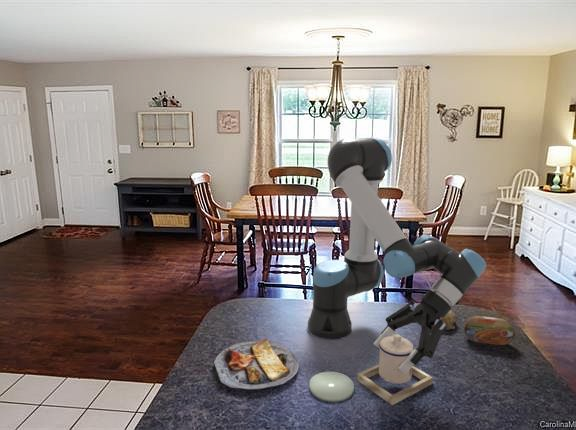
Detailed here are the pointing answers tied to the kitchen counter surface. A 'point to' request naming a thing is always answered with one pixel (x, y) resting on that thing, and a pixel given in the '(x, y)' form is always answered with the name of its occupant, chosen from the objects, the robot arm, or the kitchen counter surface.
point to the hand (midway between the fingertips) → (388, 358)
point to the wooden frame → (402, 394)
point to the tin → (489, 330)
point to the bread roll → (449, 320)
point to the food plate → (256, 364)
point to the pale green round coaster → (331, 386)
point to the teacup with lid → (394, 358)
